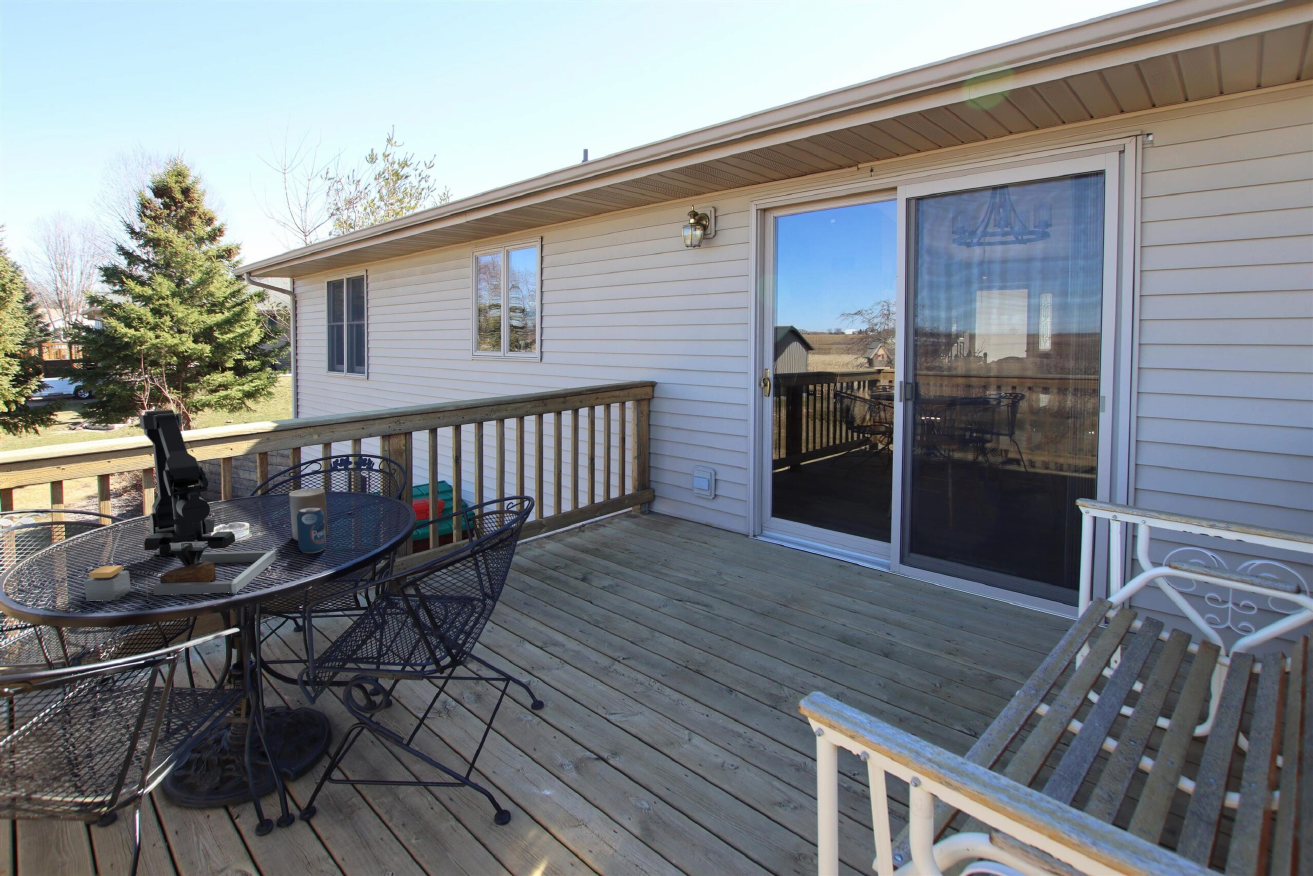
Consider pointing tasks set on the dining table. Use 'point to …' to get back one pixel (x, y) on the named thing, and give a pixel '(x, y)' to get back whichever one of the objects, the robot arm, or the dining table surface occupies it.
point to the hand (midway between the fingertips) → (193, 573)
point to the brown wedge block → (191, 573)
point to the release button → (105, 572)
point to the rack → (261, 563)
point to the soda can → (311, 529)
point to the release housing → (107, 587)
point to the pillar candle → (306, 505)
